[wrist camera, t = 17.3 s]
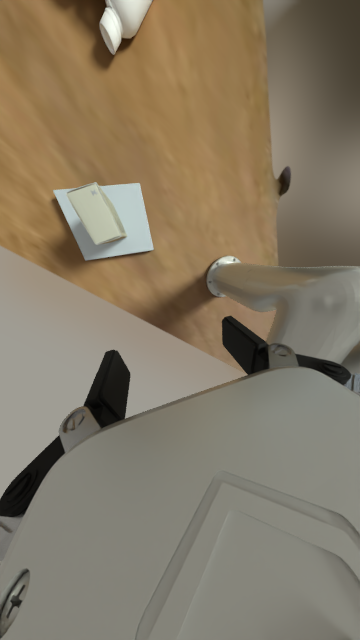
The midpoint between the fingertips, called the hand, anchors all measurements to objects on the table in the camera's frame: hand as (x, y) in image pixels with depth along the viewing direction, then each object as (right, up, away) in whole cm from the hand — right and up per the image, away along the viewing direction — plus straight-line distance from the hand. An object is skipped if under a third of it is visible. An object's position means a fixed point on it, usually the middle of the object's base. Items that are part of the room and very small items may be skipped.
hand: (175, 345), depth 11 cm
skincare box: (-14, +23, +17) cm, 32 cm away
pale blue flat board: (-15, +24, +19) cm, 35 cm away
